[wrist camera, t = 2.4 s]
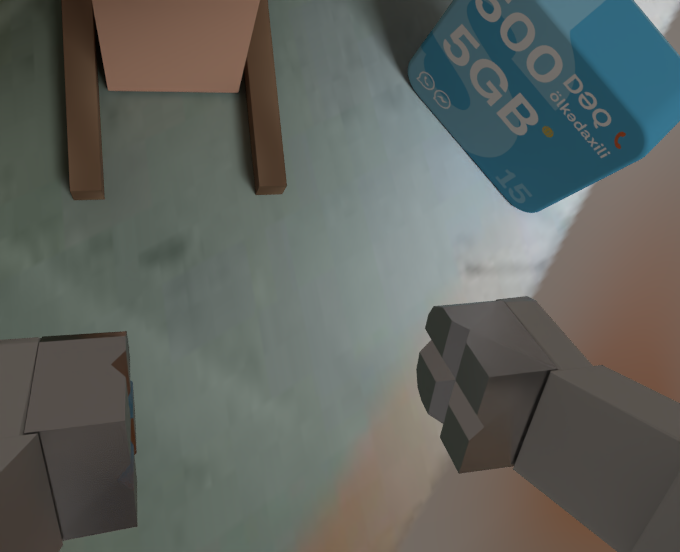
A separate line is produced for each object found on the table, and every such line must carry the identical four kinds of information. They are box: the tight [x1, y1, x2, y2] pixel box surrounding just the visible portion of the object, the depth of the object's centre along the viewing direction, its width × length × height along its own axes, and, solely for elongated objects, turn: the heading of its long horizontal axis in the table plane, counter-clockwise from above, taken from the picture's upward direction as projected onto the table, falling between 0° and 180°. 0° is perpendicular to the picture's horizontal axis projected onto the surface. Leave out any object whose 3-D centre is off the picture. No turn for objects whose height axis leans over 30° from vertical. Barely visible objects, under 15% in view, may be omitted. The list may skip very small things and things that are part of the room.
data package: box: [408, 0, 680, 213], centre depth 35 cm, size 12×4×12 cm, turn 42°
